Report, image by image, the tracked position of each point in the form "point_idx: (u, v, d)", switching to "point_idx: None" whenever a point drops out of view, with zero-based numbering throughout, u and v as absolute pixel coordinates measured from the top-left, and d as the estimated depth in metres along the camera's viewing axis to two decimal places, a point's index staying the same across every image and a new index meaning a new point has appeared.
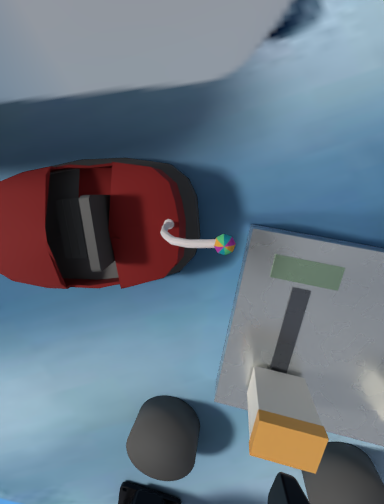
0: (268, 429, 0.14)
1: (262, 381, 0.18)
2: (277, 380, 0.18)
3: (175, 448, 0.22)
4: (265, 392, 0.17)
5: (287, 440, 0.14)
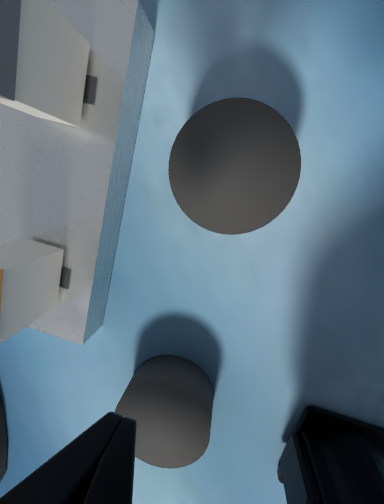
0: None
1: None
2: None
3: (150, 407, 0.16)
4: None
5: None
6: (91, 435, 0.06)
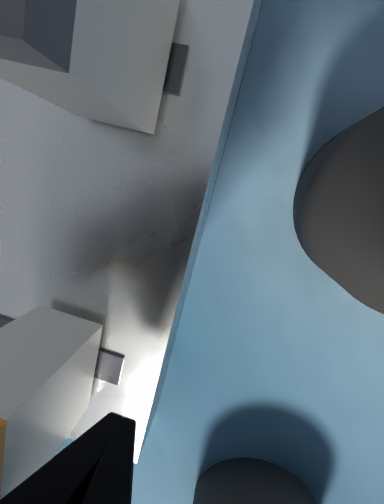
0: None
1: None
2: None
3: None
4: None
5: None
6: (92, 435, 0.06)
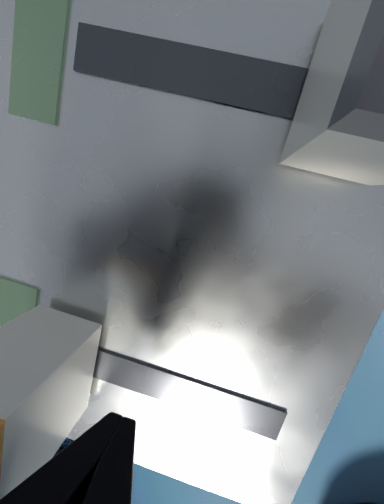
0: None
1: None
2: None
3: None
4: None
5: None
6: (92, 435, 0.06)
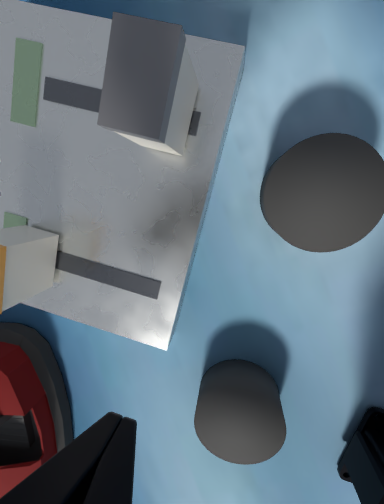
0: None
1: None
2: None
3: (230, 408, 0.17)
4: None
5: None
6: (91, 435, 0.06)
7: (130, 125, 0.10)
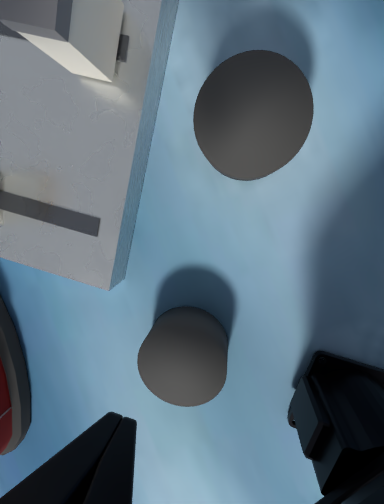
0: None
1: None
2: None
3: (172, 347, 0.17)
4: None
5: None
6: (91, 435, 0.06)
7: (26, 16, 0.10)
